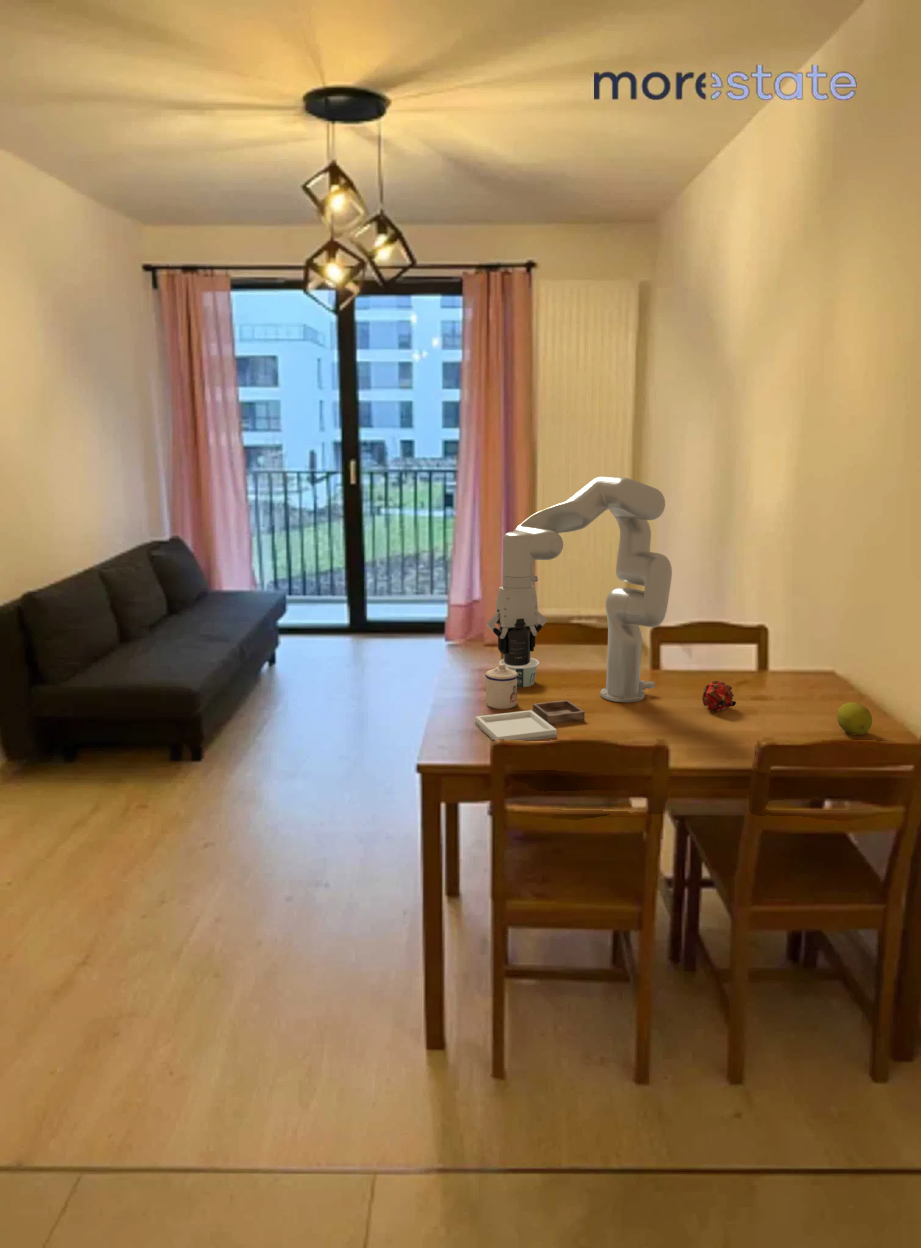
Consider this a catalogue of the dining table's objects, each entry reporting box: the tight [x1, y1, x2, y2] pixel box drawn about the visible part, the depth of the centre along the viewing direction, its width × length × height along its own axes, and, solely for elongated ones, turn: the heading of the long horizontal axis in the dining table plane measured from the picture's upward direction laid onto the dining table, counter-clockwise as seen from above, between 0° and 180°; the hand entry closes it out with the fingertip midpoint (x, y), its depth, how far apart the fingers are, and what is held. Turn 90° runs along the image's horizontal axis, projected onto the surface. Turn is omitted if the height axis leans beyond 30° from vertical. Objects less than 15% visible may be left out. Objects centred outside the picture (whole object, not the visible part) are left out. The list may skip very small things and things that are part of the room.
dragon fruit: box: [701, 680, 737, 714], centre depth 251 cm, size 8×8×12 cm
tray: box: [474, 709, 558, 741], centre depth 235 cm, size 16×16×2 cm
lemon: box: [836, 701, 873, 736], centre depth 233 cm, size 11×8×8 cm
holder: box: [532, 699, 586, 726], centre depth 245 cm, size 10×10×2 cm
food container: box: [499, 657, 540, 688], centre depth 275 cm, size 12×12×6 cm
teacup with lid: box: [485, 663, 518, 710], centre depth 256 cm, size 12×9×12 cm
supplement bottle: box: [502, 619, 531, 666], centre depth 230 cm, size 7×7×12 cm
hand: (516, 650), depth 231 cm, fingers closed on supplement bottle, 6 cm apart
